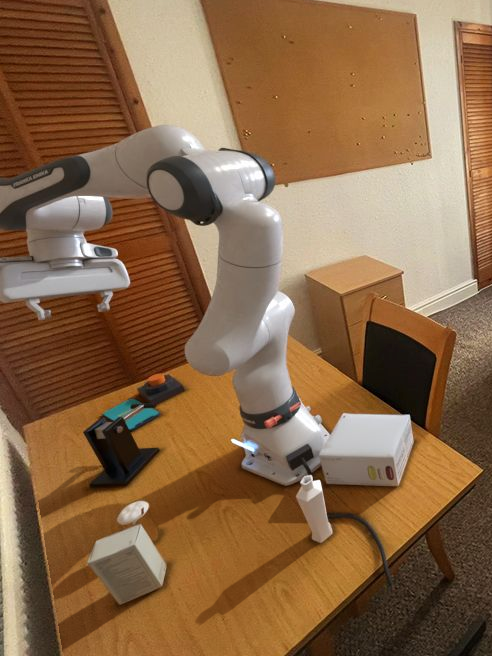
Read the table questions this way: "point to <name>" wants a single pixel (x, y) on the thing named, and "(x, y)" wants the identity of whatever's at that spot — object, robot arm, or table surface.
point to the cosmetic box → (128, 564)
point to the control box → (161, 390)
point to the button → (156, 379)
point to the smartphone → (137, 419)
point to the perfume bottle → (314, 508)
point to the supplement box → (367, 449)
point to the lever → (136, 409)
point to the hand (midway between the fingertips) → (76, 315)
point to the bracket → (117, 454)
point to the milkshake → (139, 518)
